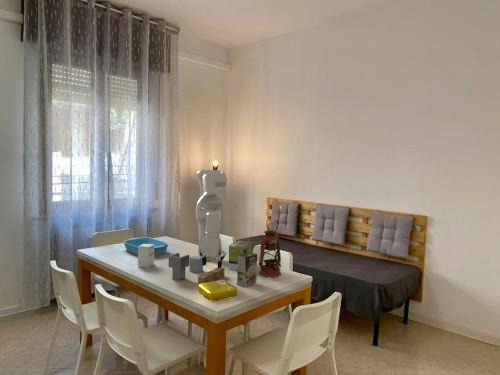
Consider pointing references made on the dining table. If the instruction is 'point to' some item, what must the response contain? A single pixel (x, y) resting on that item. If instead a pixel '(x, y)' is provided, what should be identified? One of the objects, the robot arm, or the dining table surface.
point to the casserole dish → (133, 243)
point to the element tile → (217, 290)
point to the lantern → (271, 264)
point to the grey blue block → (196, 264)
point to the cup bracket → (178, 265)
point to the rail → (211, 275)
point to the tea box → (237, 252)
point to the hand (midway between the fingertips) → (211, 266)
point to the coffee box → (247, 269)
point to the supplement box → (145, 255)
